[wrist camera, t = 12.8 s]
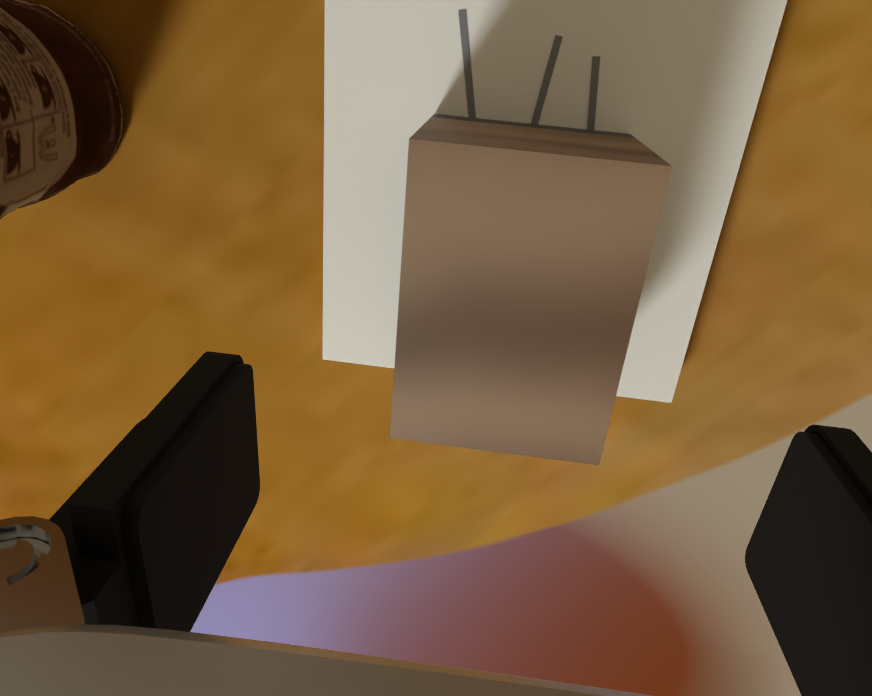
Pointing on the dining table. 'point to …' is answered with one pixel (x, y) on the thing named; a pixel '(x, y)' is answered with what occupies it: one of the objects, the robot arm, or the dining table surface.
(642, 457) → the dining table surface
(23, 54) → the coffee cup
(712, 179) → the board
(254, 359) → the dining table surface
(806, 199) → the dining table surface
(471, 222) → the block
